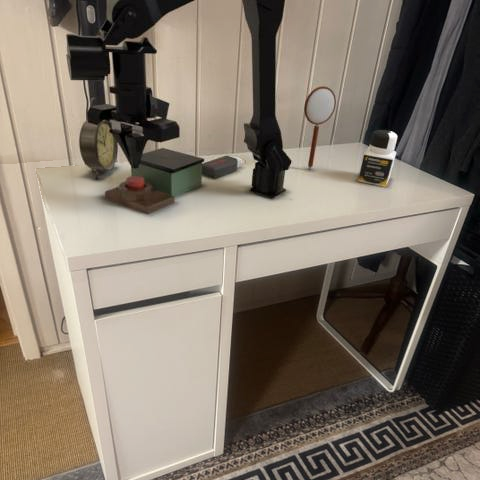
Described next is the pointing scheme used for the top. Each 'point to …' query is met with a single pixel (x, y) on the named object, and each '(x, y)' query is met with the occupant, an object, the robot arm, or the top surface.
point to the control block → (140, 197)
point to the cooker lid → (169, 160)
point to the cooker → (170, 178)
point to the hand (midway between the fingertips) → (135, 167)
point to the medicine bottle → (379, 158)
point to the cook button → (135, 182)
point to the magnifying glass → (318, 112)
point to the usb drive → (220, 166)
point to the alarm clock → (98, 145)
